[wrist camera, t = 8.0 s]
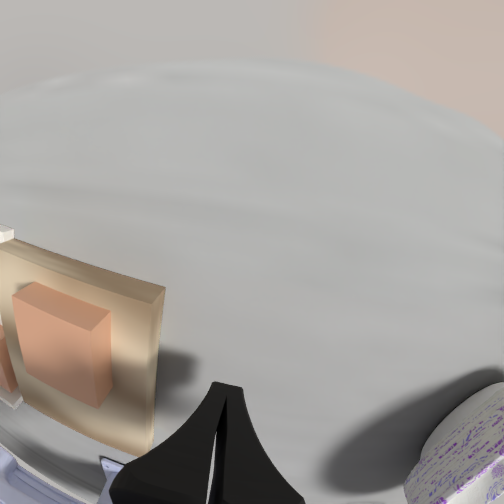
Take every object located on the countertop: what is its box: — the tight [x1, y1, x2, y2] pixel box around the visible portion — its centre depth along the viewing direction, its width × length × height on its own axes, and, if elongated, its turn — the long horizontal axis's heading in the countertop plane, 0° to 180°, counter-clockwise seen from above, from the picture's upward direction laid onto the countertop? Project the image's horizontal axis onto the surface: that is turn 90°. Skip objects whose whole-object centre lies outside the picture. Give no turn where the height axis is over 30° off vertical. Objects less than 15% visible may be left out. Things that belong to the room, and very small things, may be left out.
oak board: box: [0, 239, 166, 457], centre depth 14 cm, size 13×11×2 cm
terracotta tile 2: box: [12, 282, 113, 409], centre depth 12 cm, size 5×5×2 cm
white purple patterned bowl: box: [404, 382, 504, 504], centre depth 13 cm, size 15×15×8 cm
